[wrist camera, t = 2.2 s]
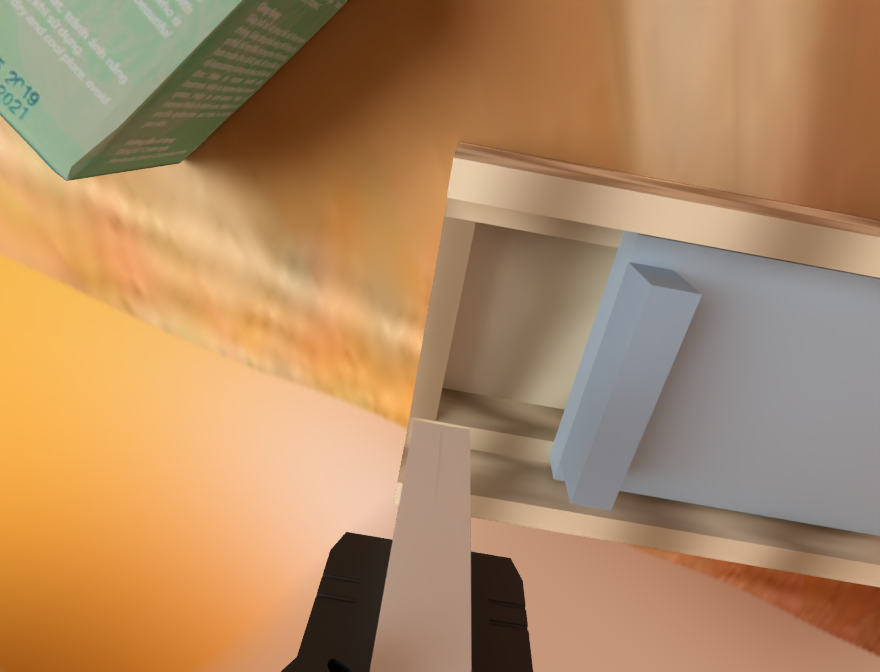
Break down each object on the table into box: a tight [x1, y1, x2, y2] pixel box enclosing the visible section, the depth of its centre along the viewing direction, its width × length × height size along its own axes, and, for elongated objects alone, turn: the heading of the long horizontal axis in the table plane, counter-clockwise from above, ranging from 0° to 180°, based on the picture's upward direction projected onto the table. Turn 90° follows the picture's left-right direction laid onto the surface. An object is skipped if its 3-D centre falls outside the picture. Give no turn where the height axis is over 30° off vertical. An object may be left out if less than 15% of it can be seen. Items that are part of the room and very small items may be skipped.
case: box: [394, 142, 880, 587], centre depth 22 cm, size 22×14×7 cm, turn 80°
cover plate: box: [549, 231, 880, 536], centre depth 19 cm, size 15×11×4 cm
